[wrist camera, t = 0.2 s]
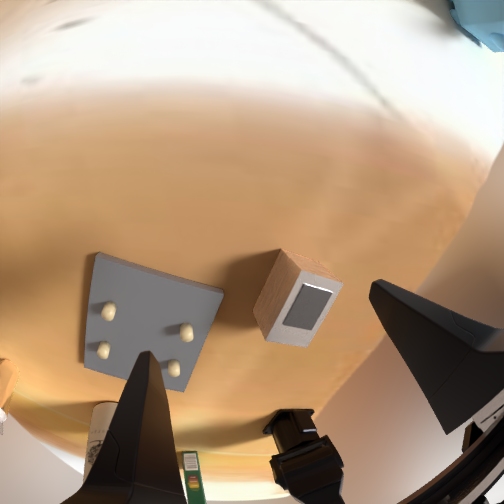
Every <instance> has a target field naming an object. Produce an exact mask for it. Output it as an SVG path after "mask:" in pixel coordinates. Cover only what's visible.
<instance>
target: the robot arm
mask: <svg viewBox="0 0 504 504" xmlns="http://www.w3.org/2000/svg"><path fill="white" fill-rule="evenodd" d="M369 300H370V302H371V304H372V306H373V308H374V310H375V312H376V314H377V316H378V318H379V320H380V322H381V323H382V325H383V327H384V329H385V331H386V332H387V334H388V335H389V337H390V338H391V340H392V342H393V343H394V345H395V346H396V348H397V349H398V351H399V353H400V354H401V356H402V358H403V359H404V361H405V362H406V364H407V366H408V367H409V369H410V371H411V372H412V374H413V376H414V377H415V379H416V381H417V382H418V384H419V386H420V388H421V389H422V391H423V393H424V394H425V396H426V398H427V400H428V402H429V404H430V406H431V407H432V409H433V411H434V413H435V415H436V417H437V419H438V420H439V422H440V424H441V426H442V428H443V430H444V432H445V433H446V435H448V434H449V433H451V432H452V431H453V430H455V429H456V428H458V427H459V426H460V425H462V424H463V423H464V422H466V421H467V420H468V419H470V418H471V417H472V419H473V421H472V422H471V423H470V424H469V425H468V426H467V427H466V428H465V434H464V440H463V446H462V452H463V454H462V455H461V456H460V457H459V458H457V459H456V460H455V461H454V462H453V463H452V464H451V465H449V466H448V467H447V468H446V469H445V470H444V471H442V472H441V473H440V474H439V475H437V476H436V477H435V478H434V479H432V480H431V481H429V482H428V483H427V484H425V485H424V486H423V487H421V488H420V489H419V490H417V491H416V492H414V493H413V494H411V495H410V496H408V497H407V498H405V499H404V500H402V501H400V502H399V503H397V504H489V502H488V500H487V498H486V497H485V496H484V495H485V494H486V493H487V492H488V491H489V490H490V489H491V488H492V486H494V485H495V483H496V482H497V481H498V480H499V479H500V478H501V477H502V475H503V474H504V329H499V328H494V327H492V326H489V325H486V324H483V323H481V322H478V321H475V320H473V319H470V318H467V317H465V316H463V315H460V314H458V313H456V312H454V311H452V310H449V309H447V308H445V307H443V306H441V305H439V304H436V303H434V302H432V301H430V300H428V299H425V298H423V297H421V296H419V295H416V294H414V293H412V292H410V291H408V290H405V289H403V288H401V287H398V286H396V285H394V284H392V283H389V282H387V281H385V280H382V279H378V280H376V281H374V282H372V284H371V289H370V293H369ZM313 413H314V410H313V409H305V410H280V411H278V413H277V414H276V415H275V416H274V418H273V419H272V420H271V422H270V423H269V424H268V425H267V426H266V428H265V429H264V430H263V434H272V435H273V438H274V441H275V443H276V446H277V449H278V451H279V454H277V455H273V456H271V457H272V459H271V460H270V461H269V462H270V465H271V468H272V471H273V475H274V480H275V483H276V484H279V485H280V486H281V487H283V489H284V490H289V492H290V494H291V495H292V497H293V498H294V499H295V500H296V501H298V502H299V503H301V504H345V503H344V501H343V499H342V497H341V492H342V486H343V471H342V469H341V468H343V467H344V465H343V462H342V459H341V457H340V455H339V453H338V451H337V450H336V448H335V447H334V445H333V444H332V442H331V440H330V439H329V437H328V436H327V435H325V436H323V437H321V438H320V437H319V435H318V434H317V432H316V431H317V429H316V427H315V425H314V423H313V421H312V419H311V416H312V415H313ZM108 429H109V430H107V433H106V435H105V438H104V440H103V443H102V445H101V448H100V450H99V452H98V455H97V457H96V459H95V461H94V463H93V465H92V467H91V469H90V471H89V473H88V475H87V477H86V480H85V482H84V483H83V485H82V487H81V488H80V489H79V490H78V491H77V492H76V493H75V494H74V495H72V496H71V497H69V498H68V499H66V500H65V501H63V502H62V503H60V504H187V502H186V498H185V496H184V495H185V494H184V490H183V486H182V481H181V476H180V471H179V467H178V461H177V456H176V450H175V445H174V439H173V432H172V426H171V419H170V411H169V404H168V399H167V395H166V390H165V386H164V382H163V377H162V372H161V368H160V364H159V362H158V361H157V359H156V358H155V356H154V355H153V353H152V352H151V351H150V350H148V351H143V352H140V353H139V355H138V357H137V360H136V362H135V364H134V366H133V369H132V371H131V373H130V376H129V378H128V380H127V383H126V385H125V387H124V390H123V392H122V395H121V397H120V400H119V402H118V404H117V407H116V409H115V412H114V415H113V417H112V420H111V422H110V425H109V427H108ZM497 504H504V500H503V501H502V502H501V503H497Z"/></svg>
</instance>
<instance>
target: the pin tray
mask: <svg viewBox="0 0 504 504" xmlns="http://www.w3.org/2000/svg"><path fill="white" fill-rule="evenodd" d="M223 296H224V292H223V289H220V288H216V287H212V286H209V285H205V284H202V283H198V282H194V281H191V280H188V279H184V278H181V277H177V276H174V275H170V274H167V273H164V272H160V271H157V270H154V269H151V268H147V267H144V266H141V265H138V264H135V263H131V262H128V261H125V260H122V259H119V258H116V257H113V256H110V255H107V254H104V253H101V252H98V254H97V255H96V257H95V263H94V269H93V275H92V281H91V288H90V295H89V304H88V313H87V323H86V337H85V357H84V367H85V368H88V369H91V370H94V371H97V372H100V373H104V374H107V375H111V376H114V377H118V378H121V379H125V380H128V378H129V376H130V373H131V371H132V369H133V366H134V364H135V362H136V360H137V357H138V355H139V353H140V352H143V351H148V350H150V351H151V352H152V353H153V355H154V356H155V358H156V359H157V361H158V362H159V364H160V368H161V372H162V377H163V382H164V386H165V389H169V390H174V391H180V392H184V391H185V389H186V386H187V384H188V381H189V379H190V376H191V374H192V371H193V369H194V366H195V364H196V362H197V359H198V357H199V354H200V352H201V349H202V347H203V344H204V342H205V340H206V337H207V335H208V332H209V330H210V327H211V325H212V323H213V320H214V318H215V315H216V313H217V311H218V308H219V306H220V303H221V301H222V299H223Z"/></svg>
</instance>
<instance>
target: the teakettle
mask: <svg viewBox="0 0 504 504" xmlns="http://www.w3.org/2000/svg"><path fill="white" fill-rule="evenodd" d="M452 1H453V3H454V6H455V9H452V10H450V12H451V15H452V17H453V19H454V20H455V22H456V23H457V24H459V25H461V27H463V28H464V29H466V30H467V31H468V32H470V33H471V34H472V35H473V36H475V37H476V38H477V39H479V40H480V41H481V42H482V43H483V44H485V45H486V46H487V47H488V48H489V49H491V50H492V51H493V52H504V0H452Z"/></svg>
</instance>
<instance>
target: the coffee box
mask: <svg viewBox="0 0 504 504" xmlns="http://www.w3.org/2000/svg"><path fill="white" fill-rule="evenodd" d="M182 459H183V470H184V477H185V485H186V492H187V498H188V504H206V499H205V494H204V489H203V483H202V477H201V471H200V465H199V459H198V453H197V451H183V452H182Z"/></svg>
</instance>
